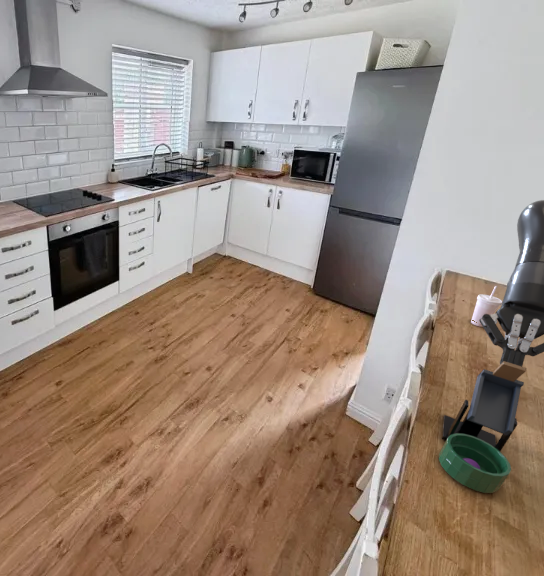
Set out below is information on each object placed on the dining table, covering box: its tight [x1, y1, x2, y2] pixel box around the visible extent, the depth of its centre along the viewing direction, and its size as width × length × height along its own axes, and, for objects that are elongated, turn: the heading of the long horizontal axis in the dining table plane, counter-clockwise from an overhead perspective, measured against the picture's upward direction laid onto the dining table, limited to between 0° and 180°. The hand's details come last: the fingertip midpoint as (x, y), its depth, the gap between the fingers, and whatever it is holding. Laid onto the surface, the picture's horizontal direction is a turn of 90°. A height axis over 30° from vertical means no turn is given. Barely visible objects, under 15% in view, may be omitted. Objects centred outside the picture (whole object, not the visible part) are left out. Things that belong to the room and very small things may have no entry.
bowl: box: [438, 433, 512, 494], centre depth 69 cm, size 9×9×5 cm
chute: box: [467, 361, 528, 435], centre depth 68 cm, size 10×6×8 cm
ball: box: [463, 458, 480, 469], centre depth 69 cm, size 3×3×3 cm
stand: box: [441, 399, 518, 452], centre depth 75 cm, size 9×9×10 cm
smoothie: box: [470, 285, 503, 328], centre depth 121 cm, size 6×6×14 cm
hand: (509, 369), depth 69 cm, fingers closed
